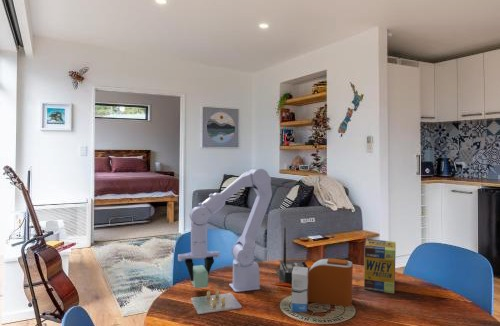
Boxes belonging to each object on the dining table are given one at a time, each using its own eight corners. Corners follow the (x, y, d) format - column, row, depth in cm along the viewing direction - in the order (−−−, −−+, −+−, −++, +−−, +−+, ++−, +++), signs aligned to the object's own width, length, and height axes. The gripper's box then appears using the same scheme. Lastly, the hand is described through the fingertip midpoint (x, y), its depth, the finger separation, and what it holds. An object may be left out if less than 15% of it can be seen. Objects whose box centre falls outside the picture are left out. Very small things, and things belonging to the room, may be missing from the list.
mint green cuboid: (202, 278, 136) (202, 265, 135) (208, 286, 127) (208, 272, 127) (190, 279, 134) (190, 266, 134) (194, 288, 126) (194, 273, 125)
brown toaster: (352, 298, 126) (353, 258, 126) (350, 307, 118) (351, 265, 118) (309, 292, 131) (309, 254, 131) (304, 301, 123) (305, 260, 123)
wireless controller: (316, 282, 141) (316, 238, 141) (280, 282, 141) (280, 238, 140) (306, 266, 161) (306, 227, 161) (274, 266, 161) (274, 227, 160)
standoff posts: (218, 296, 125) (218, 289, 125) (225, 305, 117) (225, 298, 117) (206, 298, 123) (206, 291, 123) (212, 307, 116) (212, 300, 116)
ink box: (307, 313, 114) (307, 275, 114) (291, 311, 115) (291, 274, 115) (308, 302, 122) (308, 266, 122) (293, 300, 123) (293, 265, 123)
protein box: (363, 289, 134) (364, 247, 134) (367, 277, 148) (367, 238, 148) (394, 294, 130) (395, 250, 130) (395, 280, 144) (395, 241, 144)
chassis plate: (230, 294, 128) (230, 292, 128) (241, 308, 117) (241, 306, 117) (190, 299, 124) (190, 297, 124) (198, 314, 112) (198, 312, 112)
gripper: (216, 237, 136) (216, 273, 137) (176, 240, 131) (176, 277, 132) (221, 241, 130) (221, 279, 130) (179, 244, 125) (179, 284, 125)
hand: (198, 279), depth 130 cm, fingers closed on mint green cuboid, 5 cm apart
